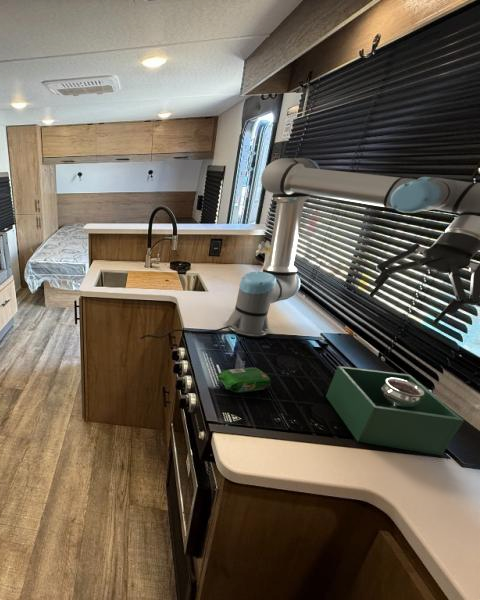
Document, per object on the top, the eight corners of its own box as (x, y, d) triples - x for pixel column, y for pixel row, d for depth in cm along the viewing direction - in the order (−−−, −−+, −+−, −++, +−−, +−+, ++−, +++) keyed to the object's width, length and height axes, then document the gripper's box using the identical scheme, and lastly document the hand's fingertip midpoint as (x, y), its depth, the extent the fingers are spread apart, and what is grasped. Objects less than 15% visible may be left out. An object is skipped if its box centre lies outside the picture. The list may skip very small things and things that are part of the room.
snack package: (212, 382, 96) (214, 368, 94) (257, 376, 98) (261, 363, 96) (225, 398, 89) (228, 383, 87) (273, 391, 91) (277, 377, 89)
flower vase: (266, 280, 181) (277, 237, 171) (279, 291, 164) (292, 245, 154) (243, 278, 183) (252, 237, 173) (253, 290, 166) (264, 244, 156)
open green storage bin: (357, 441, 75) (374, 407, 70) (325, 396, 90) (337, 365, 85) (441, 455, 71) (464, 420, 67) (393, 406, 86) (410, 374, 81)
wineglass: (394, 437, 75) (415, 399, 70) (362, 418, 80) (379, 381, 76) (409, 429, 77) (430, 391, 72) (376, 411, 83) (394, 375, 78)
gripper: (532, 263, 71) (462, 337, 76) (400, 225, 88) (348, 288, 92) (547, 254, 66) (469, 334, 71) (402, 215, 82) (347, 283, 87)
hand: (401, 308), depth 82 cm, fingers open, 13 cm apart
